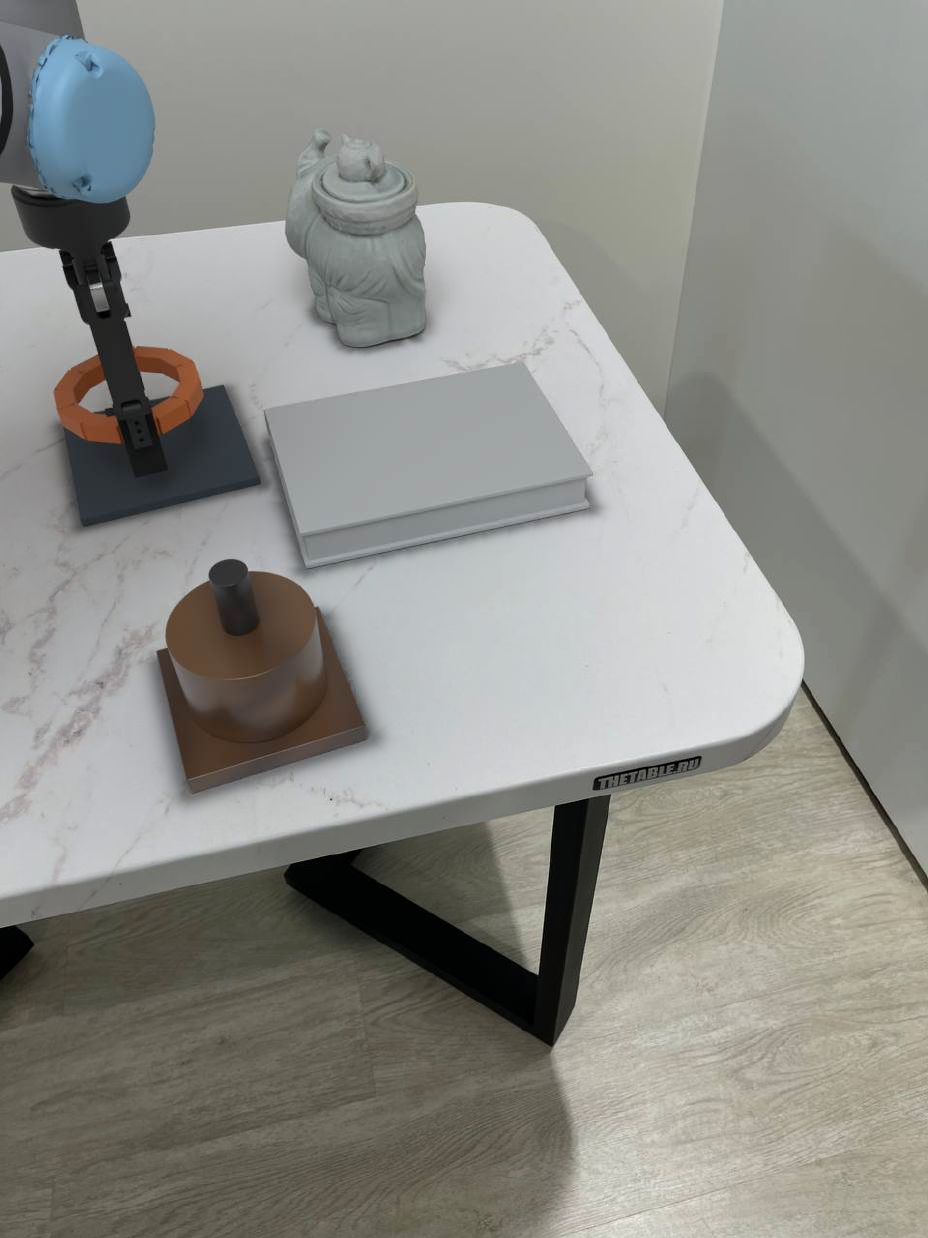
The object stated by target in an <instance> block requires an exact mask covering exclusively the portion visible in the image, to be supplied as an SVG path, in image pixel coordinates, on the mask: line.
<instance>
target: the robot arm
mask: <svg viewBox="0 0 928 1238" xmlns="http://www.w3.org/2000/svg"><path fill="white" fill-rule="evenodd" d="M153 105H154V104H153V102H152V98H151V95H150V92H149V89H148V87H147V85H146V83H145V82H144V80H143V78H142V76H141V75H140V73H139V72H138V71H137V69H136V68H135V67H134V66H133V65H132V64H131V63H130V62H129V61H128V60H127V58H125V57H124V56H122V55H121V54H120V53H117V52H115V51H114V50H111V49H110V48H106V47H103V46H99V45H96V44H93V43H90V42H89V41H87V40H86V36H85V32H84V29H83V24H82V20H81V16H80V11H79V8H78V4H77V0H0V183H1V184H10V185H12V186H11V188H10V194H11V197H12V200H13V204H14V205H15V208H16V212H17V215H18V218H19V221H20V223H21V226H22V229H23V232H24V234H25V236H26V237H27V238H28V239H29V240H30V241H31V242H32V243H34V244H35V245H36V246H39V247H42V248H45V249H48V250H49V249H50V250H58V254H59V257H60V258H59V259H60V261H61V264H62V265H61V267H62V272H63V275H64V278H65V281H66V284H67V286H68V288H69V289H70V290H71V291H72V292H73V296H74V300H75V304H76V305H77V309H78V312H79V316H80V319H81V320H82V322H83V323H84V324H85V325H88V326H89V329H90V333H91V335H92V339H93V342H94V345H95V349H96V352H97V354H98V356H99V359H100V362H101V366H102V369H103V372H104V375H105V379H106V380H105V382H106V386H107V389H108V391H109V395H110V398H111V402H112V403H111V406H112V407H107V408H104V410H105V413H106V416H107V417H110V416H116V418H117V422H118V425H119V428H120V431H121V434H122V437H123V441H124V444H125V447H126V450H127V453H128V456H129V460H130V463H131V466H132V469H133V472H134V475H135V478H136V477H141V476H145V475H149V474H154V473H158V472H162V471H166V470H168V466H167V463H166V459H165V456H164V452H163V449H162V445H161V442H160V438H159V435H158V431H157V428H156V424H155V421H154V417H153V414H152V410H151V409H152V408H151V405H150V402H149V401H150V399H149V397H148V396H147V395H146V392H145V391H146V388H145V385H144V381H143V377H142V374H141V372H139V371H138V367H137V364H136V360H135V357H134V353H133V350H132V347H133V346H134V345H133V343H132V339H131V336H130V332H129V331H130V330H129V328H128V325H127V321H126V320H125V318H126V319H128V318H131V317H132V313H131V309H130V306H129V303H128V302H126V298H125V295H124V292H123V287H122V285H121V281H122V279H123V277H122V271H121V267H120V264H119V261H118V257H117V255H116V252H115V249H114V245H113V242H112V239H113V240H114V239H116V238H117V237H119V236H120V235H121V234H123V233H124V232H125V230H126V229H127V228H128V226H129V224H130V222H131V211H130V208H129V204H128V200H127V195H128V194H130V193H131V192H132V191H134V189H135V188H136V187H138V185H140V183H141V181H142V180H143V178H144V177H145V175H146V173H147V170H148V169H149V167H150V164H151V161H152V159H153V153H154V147H153V146H154V143H155V131H156V117H155V116H156V115H155V110H154V106H153Z"/></svg>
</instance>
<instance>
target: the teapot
mask: <svg viewBox="0 0 928 1238" xmlns="http://www.w3.org/2000/svg"><path fill="white" fill-rule="evenodd" d="M331 135H332V134H331V133H330V132H329V130H326V129H325V128H323V127H316V128H315V129H314V130H313V135H312V136H311V138H310V140H309V141H308V143H307V145H306V146H305V148H304V149H303V150H302V152H301V154H300V155H299V156H298V158H297V160H296V163H295V176H296V179H295V180H294V182H292V184H291V186H290V189H289V192H288V198H287V204H288V205H287V208H286V214H285V224H284V225H285V226H284V234H285V238H286V242H287V244H288V246H289V248H290V249H291V250H292V251H293V252H294V253H295V254H296V255H298V256H299V257H300V258H302V259H304V260H305V261H306V264H307V273H308V279H309V284H310V288H311V290H312V293H313V294H314V298H315V309H316V312H317V315H318V317H319V319H320V320H321V321H324V322H326V323H329V324H335V326H336V330H337V335H338V339H339V340H340V342H341V343H342V344H343V345H345V346H348V347H352V348H365V347H371V346H376V345H380V344H382V343H386V342H389V341H393V340H399V339H403V338H408V337H411V336H414V335H416V334H418V333H420V332H422V331H423V330H424V328H425V326H426V321H427V313H426V292H427V288H426V281H425V276H424V273H425V271H424V269H425V266H426V258H427V244H426V239H425V238H426V236H425V231H424V228H423V225H422V222H421V220H420V218H419V216H418V215H417V213H416V210H417V205H418V203H419V202H418V201H419V200H418V198H419V187H418V185H417V181H416V177H415V176H414V174H413V173H412V172H411V171H410V170H409V169H408V168H406V166H403V165H402V164H400V163H398V162H396V161H394V160H392V159H388V158H385V154H384V152H383V150H382V148H381V147H380V145H378V144H377V143H375V142H373V141H370V140H364V139H359V138H356V139H354V137H352V136H351V135H350V134H348V133H345V134H343V135H342V137H341V141H342V142H341V143H342V146H340V148H339V149H338V151H337V153H333V154H329V155H328V156H326V157H325V150H326V147H327V146H328V144H330V142H331V141H332V136H331Z"/></svg>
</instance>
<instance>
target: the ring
mask: <svg viewBox="0 0 928 1238" xmlns="http://www.w3.org/2000/svg"><path fill="white" fill-rule="evenodd" d="M132 350H133V353H134V357H135V360H136V364H137V367H138V371H139V372H140V373H150V374H161V375H164V376H166V377H168V378H170V379H172V380H173V381H175V382H177V383H178V385H177V386H176V388H175V389H174V391H173V392H172V394H171V395H170V396H171V397H170V398H168V399H166V400H165V401H163V402H161V403H160V404H158V405H156V406H154V407H153V408H152V409H151V410H152V414H153V417H154V421H155V424H156V428H157V431H158V435H159V436H160V433H161V434H165V433H166V432H168V431H170V430H171V429H173V428H174V427H176V426H178V425H179V424H181V423H183V422H184V421H186V420H188V419H189V418H190V416H193V414H194V412H195V411H196V409H197V407H198V405H199V404H200V402H201V400H202V398H203V397H204V396H203V394H204V393H203V389H204V388H203V384H202V381H201V377H200V375H199V372H198V369H197V367H196V364H195V361H193V359H191V358H189V357H188V356H185V355H183V354H182V353H180V352H177V350H173V349H172V348H167V347H157V346H145V345H144V346H143V345H136V346H135V345H133V347H132ZM104 382H106V379H105V375H104V372H103V369H102V366H101V362H100V359H99V356H98V353H97V354H95V355H93V356H91V357H89V358H88V359H85V360H83V361H82V362H80V363H78V364H76V365H74V366H72V367H70V369H67V371H66V372H65V374H64V375H63V376H62V378H61V379H60V380H59V381H58V383H57V384H56V386H55V387H54V388H53V396H54V403H55V408H56V413H57V415H58V417H59V420H60V423H61V426H62V427H63V426H64V427H65V428H67V429H68V430H70V431H71V432H73V433H75V434H76V435H78V436H80V437H81V438H83V439H85V440H86V439H87V440H88V441H96V442H107V443H118V444H121V443H122V442H124V441H123V437H122V434H121V431H120V428H119V425H118V422H117V418H116V416H110V417H107V416H106V415H105V414H94V412H92V411H90V410H89V409H87V408H85V407H83V406H82V405H80V404H81V402H82V400H83V399H84V398H85V397H86V395H87V394H88V392H89V391H90V389H92V388H94V387H96V386H97V385H100V384H102V383H104Z"/></svg>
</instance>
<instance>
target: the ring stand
mask: <svg viewBox="0 0 928 1238" xmlns="http://www.w3.org/2000/svg"><path fill="white" fill-rule="evenodd" d="M314 604H315V603H314V602H313V600H312V598H311V596H310V595H309V594H308V592H307V591H306V590H305V589H304V588H303V587H302V586H301V585H300V584H298V583H297V582H295V581H294V580H292V579H290V578H289V577H286V576H283V575H280V574H278V573H273V572H268V571H261V570H260V571H258V570H249V568H248V566H247V564H246V563H245V562H244V561H242V560H240V559H237V558H226V559H223V560H220V561H217V562H216V563H214V564H213V565H212V566H211V567H210V569H209V571H208V580H206V581H205V582H203V583H201V584H199V585H198V586H196V587H195V588H193V589H192V590H190V591H189V592H188V593H187V594H185V595H184V596H183V597H182V598H181V599H180V600H179V601H178V602H177V604H176V605H175V606H174V608H173V610H172V611H171V613H170V614H169V617H168V619H167V622H166V627H165V634H164V635H165V636H164V638H165V644H166V647H165V648H161V649H157V650H156V651H155V653H156V657H157V662H158V665H159V666H158V667H159V670H160V675H161V678H162V679H161V680H162V684H163V687H164V691H165V695H166V701H167V706H168V709H169V713H170V718H171V721H172V726H173V729H174V730H173V731H174V735H175V739H176V743H177V748H178V752H179V757H180V760H181V764H182V769H183V774H184V778H185V781H186V785H187V787H188V790H189V792H190V794H195V793H199V792H201V791H205V790H208V789H211V788H214V787H218V786H221V785H225V784H227V783H230V782H234V781H237V780H240V779H243V778H247V777H251V776H253V775H256V774H259V773H263V772H266V771H269V770H273V769H276V768H278V767H282V766H285V765H288V764H291V763H294V762H298V761H302V760H305V759H308V758H311V757H315V756H318V755H321V754H324V753H327V752H331V751H334V750H337V749H340V748H343V747H346V746H350V745H353V744H356V743H359V742H363V741H365V740H368V731H367V725H366V722H365V720H364V717H363V715H362V713H361V710H360V707H359V705H358V702H357V699H356V697H355V695H354V693H353V690H352V688H351V684H350V682H349V679H348V677H347V675H346V672H345V670H344V667H343V664H342V662H341V659H340V657H339V654H338V651H337V650H336V647H335V644H334V642H333V639H332V637H331V634H330V632H329V630H328V627H327V624H326V622H325V620H324V616H323V614H322V612H321V609H320V607H319V606H315V605H314Z"/></svg>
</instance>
